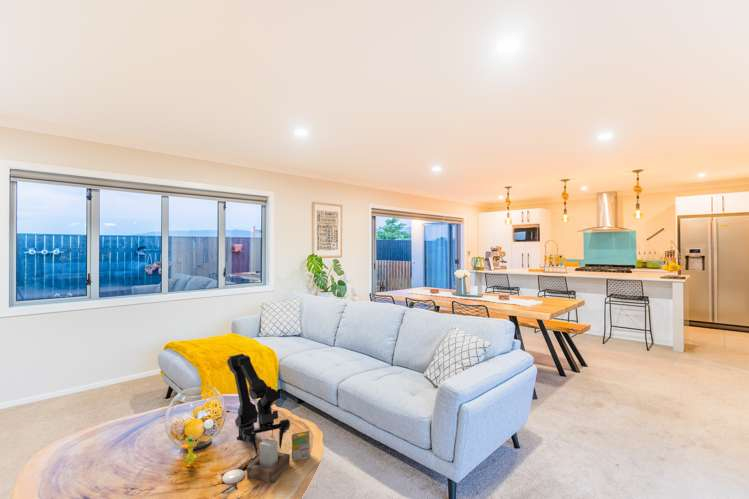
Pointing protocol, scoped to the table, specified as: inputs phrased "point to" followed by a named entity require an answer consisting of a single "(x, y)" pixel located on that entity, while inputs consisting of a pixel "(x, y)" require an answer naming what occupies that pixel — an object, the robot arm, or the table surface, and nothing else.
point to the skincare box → (268, 453)
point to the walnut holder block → (268, 469)
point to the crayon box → (300, 446)
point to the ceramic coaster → (233, 476)
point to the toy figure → (189, 451)
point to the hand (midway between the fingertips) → (268, 450)
